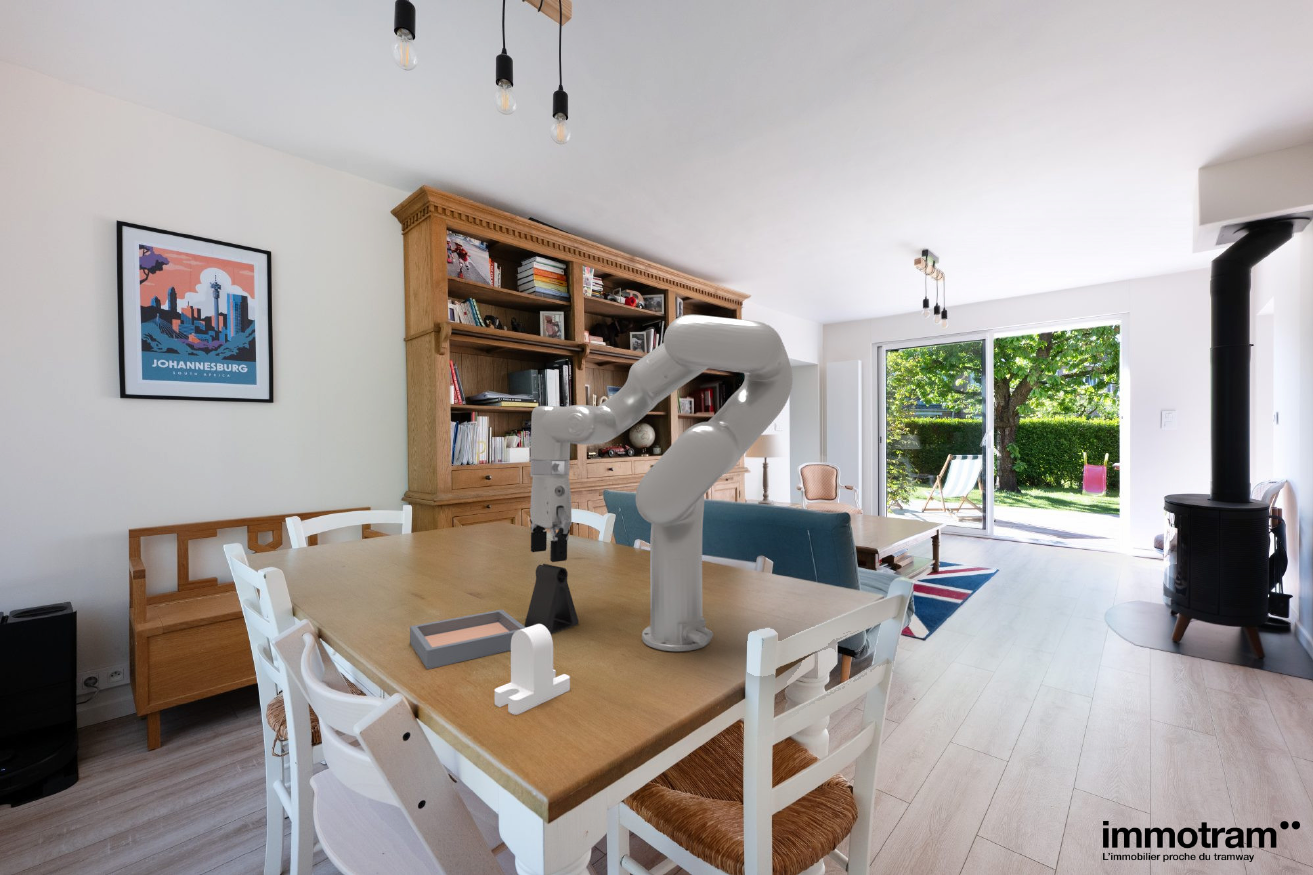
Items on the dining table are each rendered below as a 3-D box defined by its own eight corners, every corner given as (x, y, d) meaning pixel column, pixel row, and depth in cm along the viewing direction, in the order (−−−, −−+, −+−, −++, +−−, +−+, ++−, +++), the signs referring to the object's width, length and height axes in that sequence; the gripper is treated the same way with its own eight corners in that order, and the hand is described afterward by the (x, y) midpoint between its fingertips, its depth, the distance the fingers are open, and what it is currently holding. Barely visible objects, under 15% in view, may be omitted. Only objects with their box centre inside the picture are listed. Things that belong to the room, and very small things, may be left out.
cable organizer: (492, 703, 77) (492, 632, 77) (548, 679, 84) (548, 614, 84) (515, 715, 73) (515, 641, 73) (571, 689, 81) (571, 621, 81)
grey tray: (528, 646, 98) (528, 629, 98) (427, 669, 88) (427, 650, 88) (502, 624, 109) (502, 609, 109) (410, 642, 100) (410, 626, 100)
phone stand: (558, 618, 113) (558, 559, 113) (579, 624, 110) (578, 563, 110) (523, 630, 106) (523, 568, 106) (544, 637, 102) (543, 572, 102)
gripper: (587, 471, 103) (585, 562, 103) (550, 466, 117) (548, 546, 117) (550, 472, 99) (548, 567, 99) (515, 466, 113) (514, 549, 113)
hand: (548, 555), depth 108 cm, fingers open, 9 cm apart
